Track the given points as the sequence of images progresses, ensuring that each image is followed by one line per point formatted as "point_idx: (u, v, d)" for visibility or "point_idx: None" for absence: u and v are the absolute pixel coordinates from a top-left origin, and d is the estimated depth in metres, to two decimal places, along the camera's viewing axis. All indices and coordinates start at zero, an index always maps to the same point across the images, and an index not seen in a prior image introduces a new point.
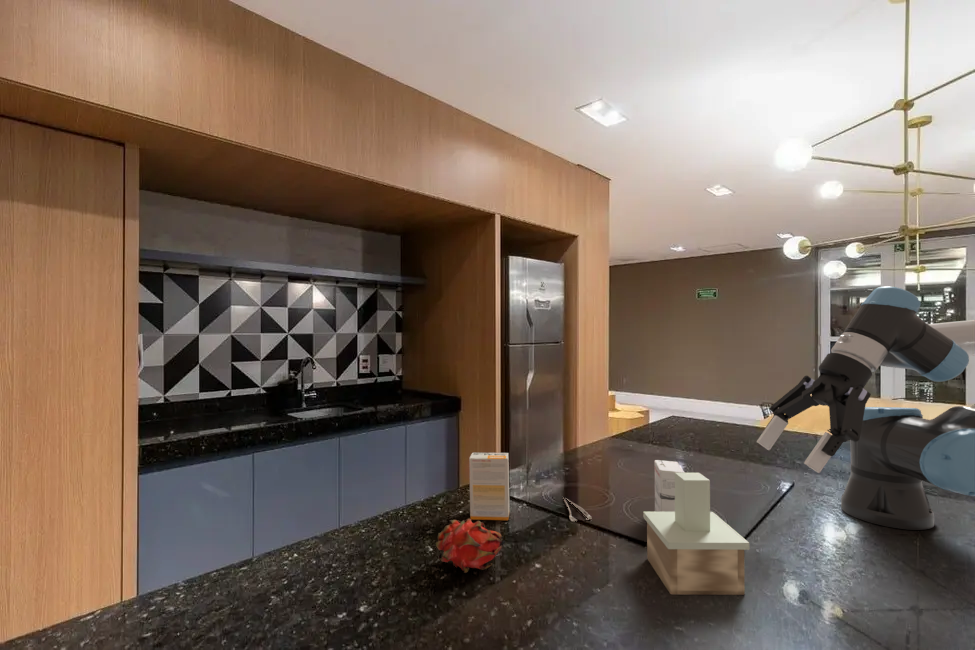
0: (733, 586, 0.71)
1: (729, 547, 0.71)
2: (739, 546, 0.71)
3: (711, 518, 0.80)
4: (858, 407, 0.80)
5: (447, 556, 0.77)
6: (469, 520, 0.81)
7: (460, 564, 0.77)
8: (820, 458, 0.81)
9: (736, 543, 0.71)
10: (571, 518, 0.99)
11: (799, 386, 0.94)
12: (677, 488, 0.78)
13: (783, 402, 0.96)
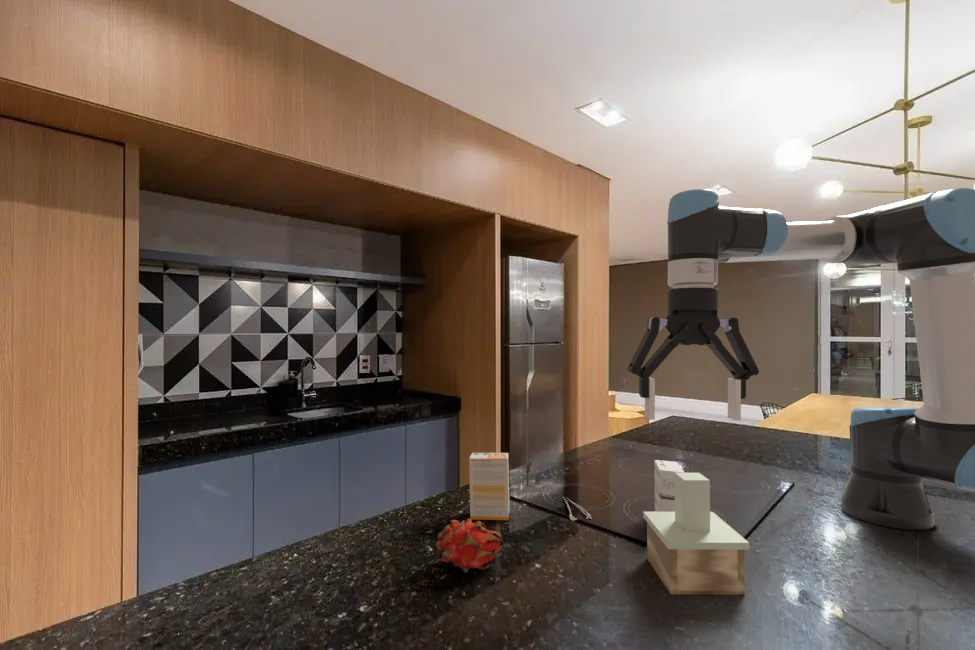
0: (733, 586, 0.71)
1: (729, 547, 0.71)
2: (739, 546, 0.71)
3: (711, 518, 0.80)
4: None
5: (447, 556, 0.77)
6: (469, 520, 0.81)
7: (460, 564, 0.77)
8: None
9: (736, 543, 0.71)
10: (571, 517, 0.99)
11: (655, 333, 0.76)
12: (677, 488, 0.78)
13: None
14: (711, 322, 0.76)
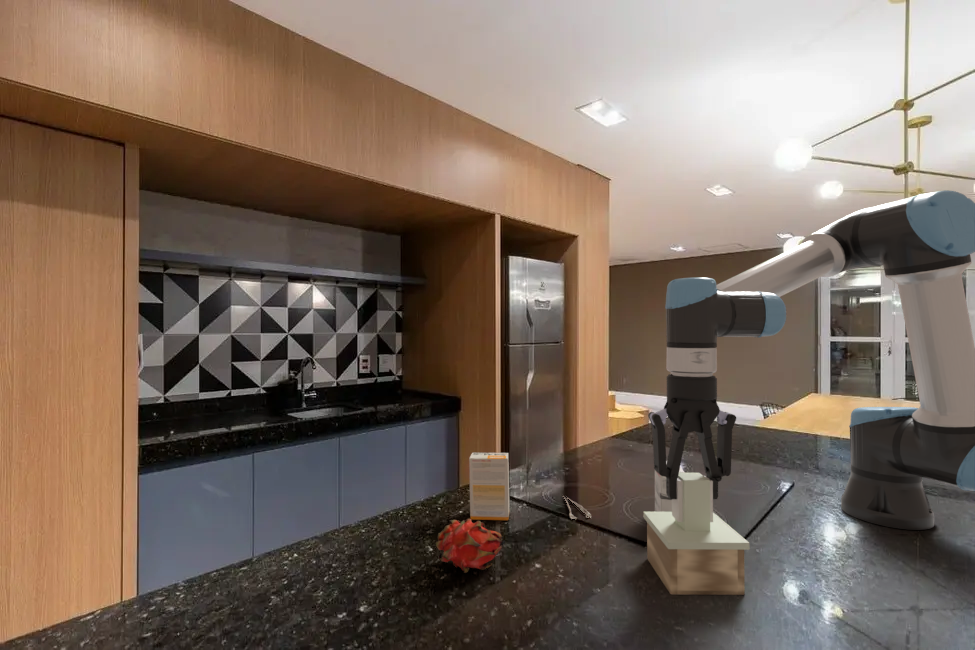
0: (733, 586, 0.71)
1: (729, 547, 0.71)
2: (739, 546, 0.71)
3: None
4: None
5: (447, 556, 0.77)
6: (469, 520, 0.81)
7: (460, 564, 0.77)
8: None
9: (736, 543, 0.71)
10: (571, 516, 1.00)
11: (662, 429, 0.76)
12: None
13: None
14: (711, 408, 0.76)
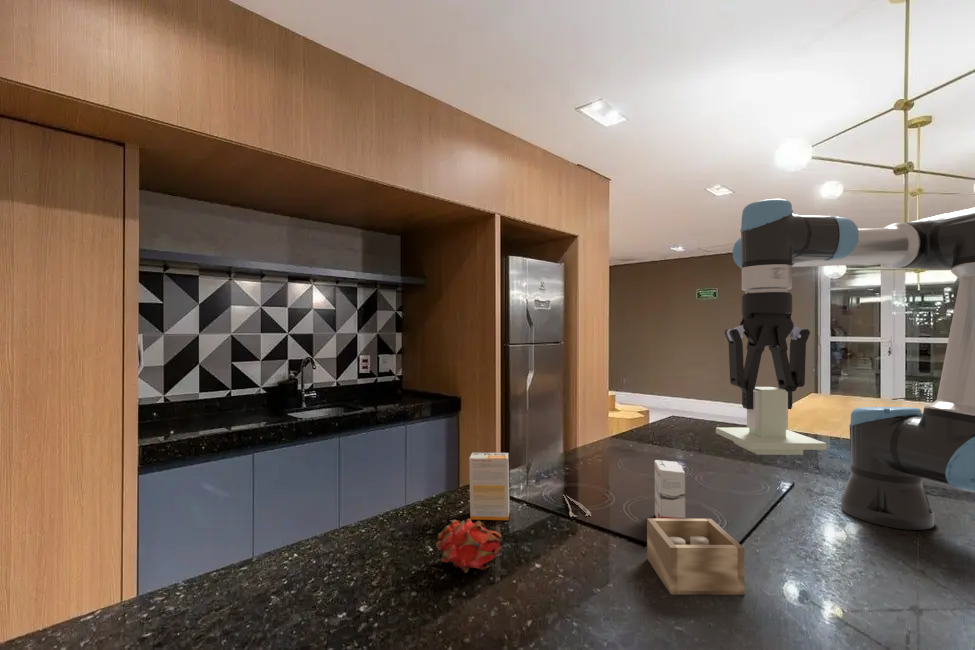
0: (733, 586, 0.71)
1: (808, 447, 0.76)
2: (817, 446, 0.76)
3: None
4: None
5: (447, 556, 0.77)
6: (469, 520, 0.81)
7: (460, 564, 0.77)
8: None
9: (814, 444, 0.76)
10: (571, 514, 1.01)
11: (740, 343, 0.81)
12: None
13: None
14: (786, 323, 0.81)
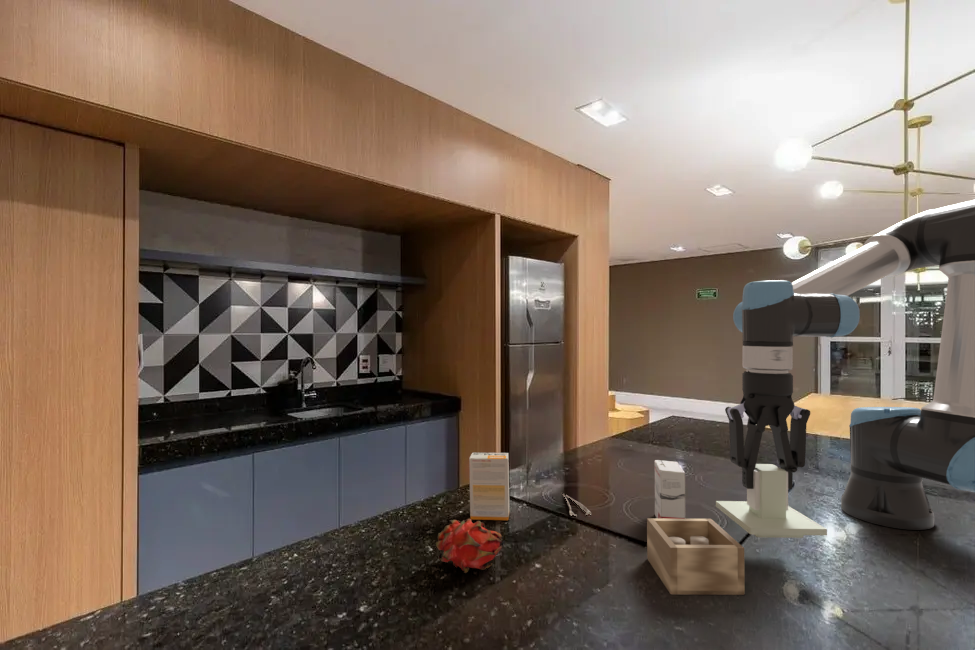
0: (733, 586, 0.71)
1: (808, 533, 0.76)
2: (817, 532, 0.76)
3: None
4: None
5: (447, 556, 0.77)
6: (469, 520, 0.81)
7: (460, 564, 0.77)
8: None
9: (814, 529, 0.76)
10: (571, 513, 1.02)
11: (741, 423, 0.81)
12: None
13: None
14: (787, 403, 0.81)
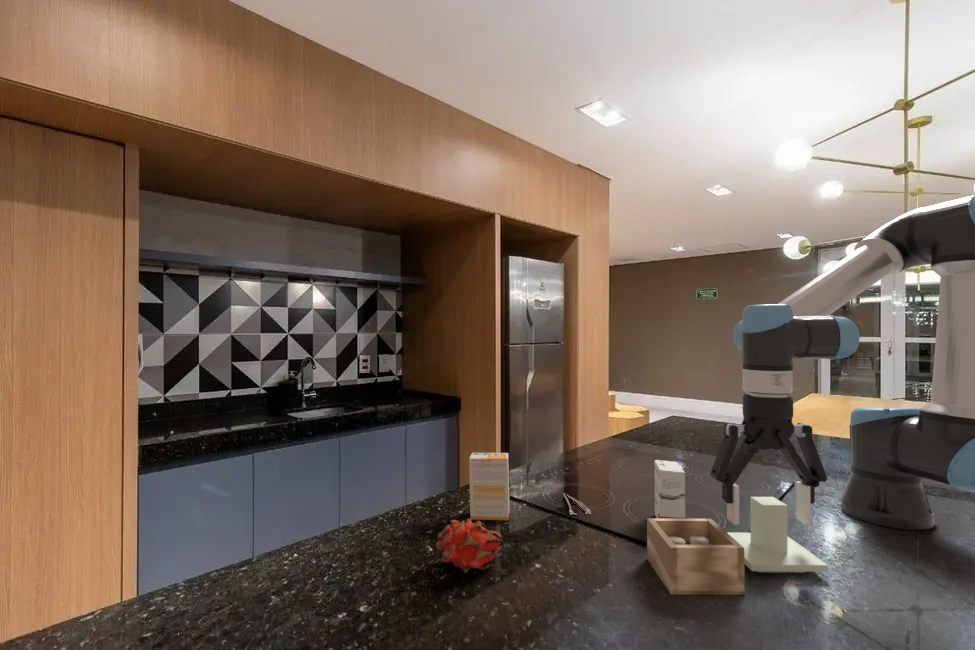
0: (733, 586, 0.71)
1: (809, 569, 0.76)
2: (819, 568, 0.76)
3: None
4: None
5: (447, 556, 0.77)
6: (469, 520, 0.81)
7: (460, 564, 0.77)
8: None
9: (816, 565, 0.76)
10: (571, 512, 1.02)
11: (735, 441, 0.81)
12: (753, 512, 0.83)
13: None
14: (786, 428, 0.81)
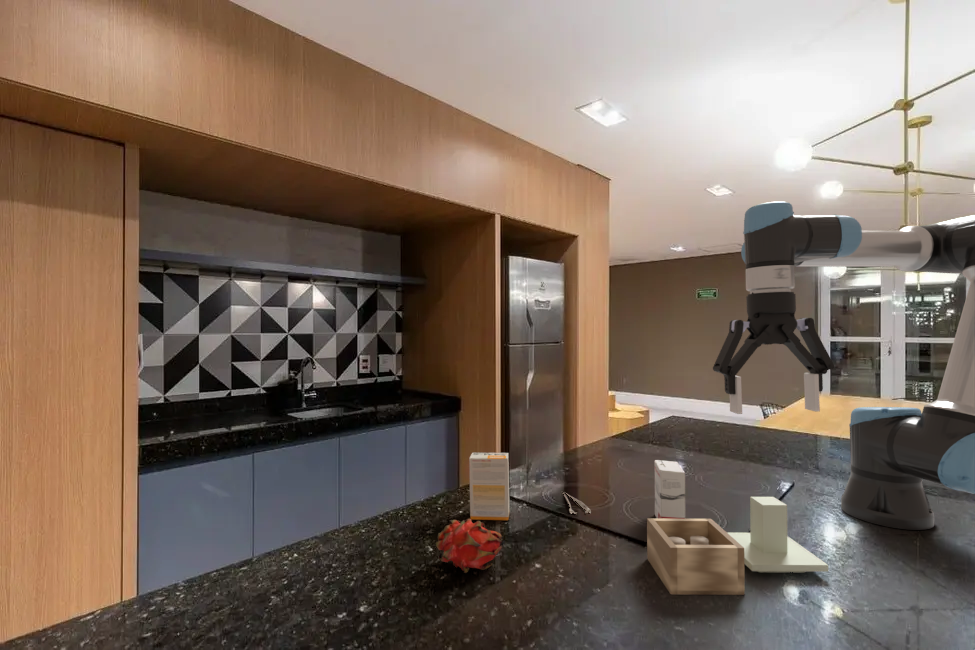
0: (733, 586, 0.71)
1: (809, 569, 0.76)
2: (819, 568, 0.76)
3: None
4: None
5: (447, 556, 0.77)
6: (469, 520, 0.81)
7: (460, 564, 0.77)
8: None
9: (816, 565, 0.76)
10: (571, 511, 1.03)
11: (740, 334, 0.83)
12: (753, 511, 0.83)
13: None
14: (789, 323, 0.83)
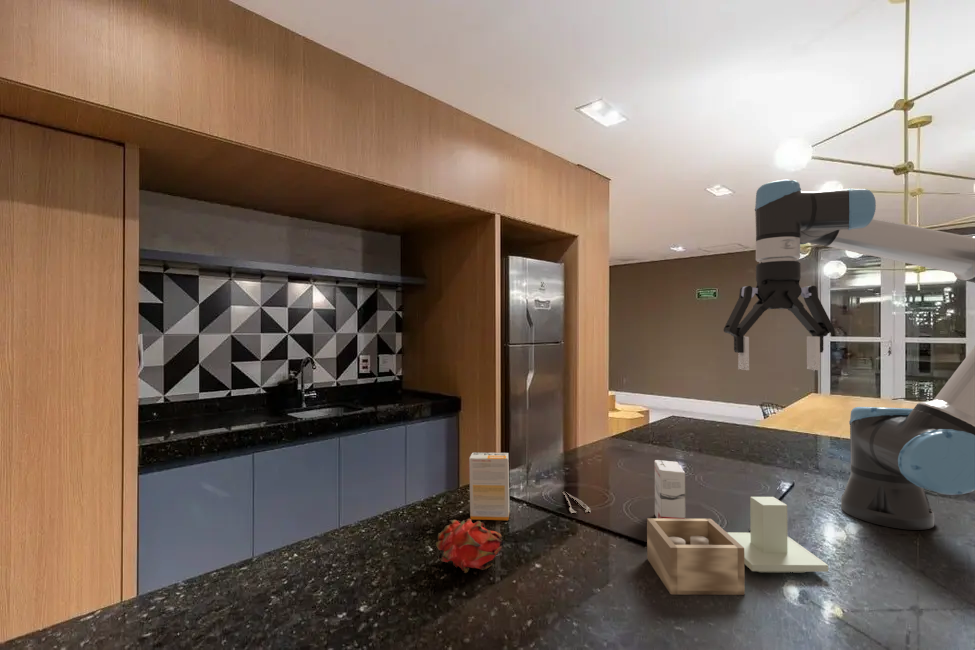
0: (733, 586, 0.71)
1: (809, 569, 0.76)
2: (819, 568, 0.76)
3: None
4: None
5: (447, 556, 0.77)
6: (469, 520, 0.81)
7: (460, 564, 0.77)
8: None
9: (816, 565, 0.76)
10: (571, 510, 1.03)
11: (749, 299, 0.93)
12: (753, 512, 0.83)
13: None
14: (794, 289, 0.93)
